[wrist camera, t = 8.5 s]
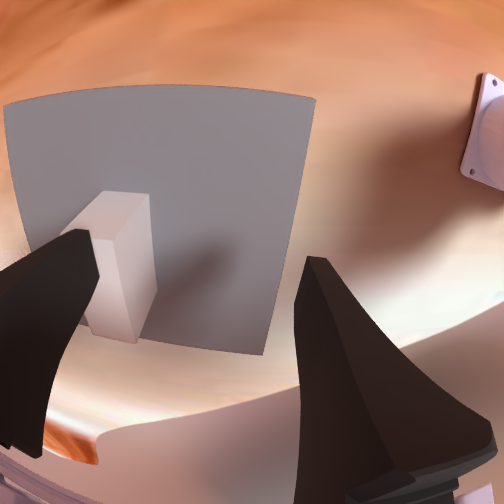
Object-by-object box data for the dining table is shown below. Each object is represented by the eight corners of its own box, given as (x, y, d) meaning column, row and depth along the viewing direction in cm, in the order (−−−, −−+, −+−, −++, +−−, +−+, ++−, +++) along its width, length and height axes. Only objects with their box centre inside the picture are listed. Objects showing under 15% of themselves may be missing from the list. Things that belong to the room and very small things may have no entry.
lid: (312, 97, 11) (339, 114, 7) (262, 344, 20) (260, 406, 16) (14, 102, 11) (-50, 128, 7) (62, 309, 20) (35, 356, 16)
